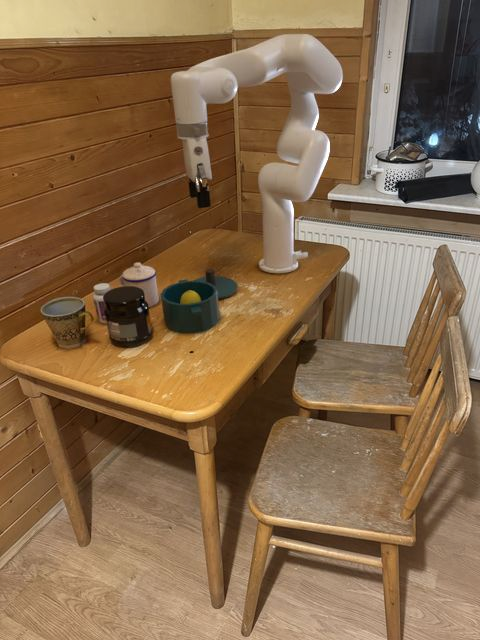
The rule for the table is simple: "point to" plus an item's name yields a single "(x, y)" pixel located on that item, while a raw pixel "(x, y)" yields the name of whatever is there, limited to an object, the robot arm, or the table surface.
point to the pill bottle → (100, 300)
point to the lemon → (190, 297)
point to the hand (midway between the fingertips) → (200, 201)
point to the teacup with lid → (142, 281)
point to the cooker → (190, 307)
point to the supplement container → (127, 316)
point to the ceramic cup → (67, 320)
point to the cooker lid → (219, 283)
